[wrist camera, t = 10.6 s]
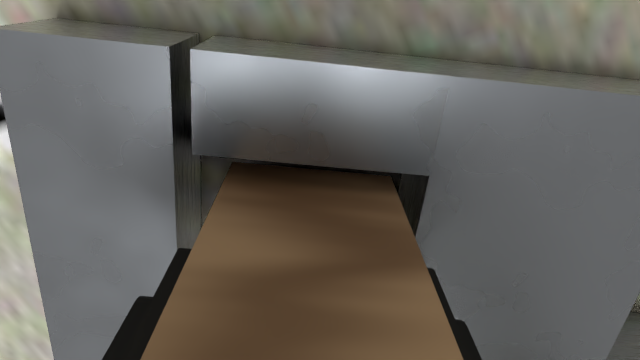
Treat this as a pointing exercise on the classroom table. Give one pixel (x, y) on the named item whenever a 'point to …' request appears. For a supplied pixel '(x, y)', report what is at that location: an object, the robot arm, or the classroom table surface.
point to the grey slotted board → (330, 151)
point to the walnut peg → (304, 275)
